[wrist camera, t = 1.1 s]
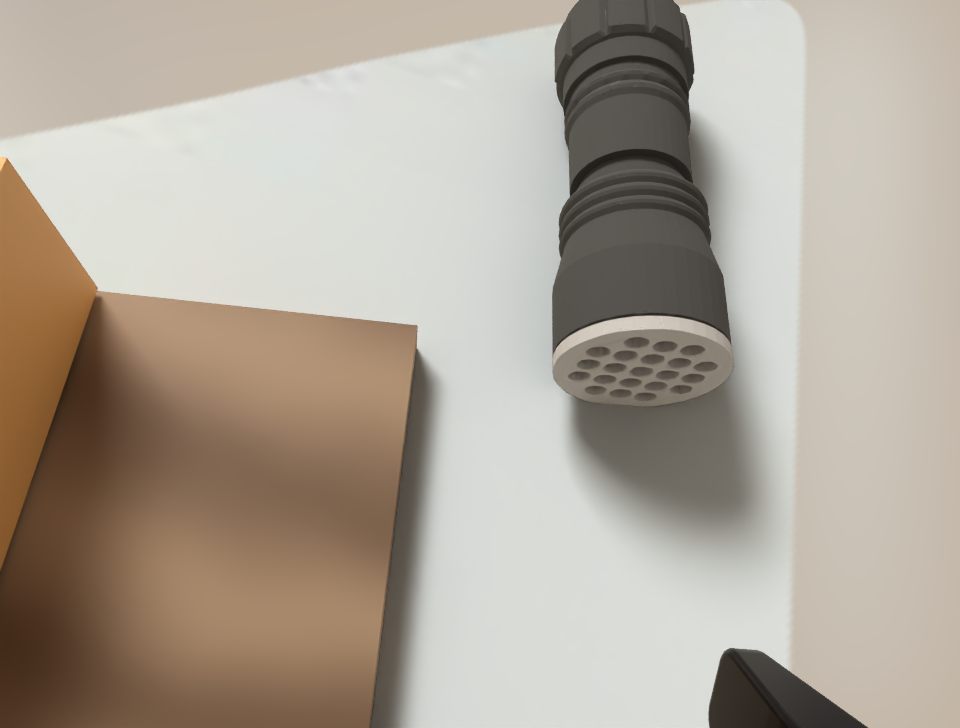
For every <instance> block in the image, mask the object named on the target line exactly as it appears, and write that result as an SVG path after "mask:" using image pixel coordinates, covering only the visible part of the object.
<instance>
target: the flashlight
mask: <svg viewBox="0 0 960 728" xmlns="http://www.w3.org/2000/svg"><path fill="white" fill-rule="evenodd" d="M693 74H694V62H693V54H692V45H691V37H690V29H689V25H688V22H687V19H686V16H685V14H683V13H681V12H680V8H679V6H678V5H677V4H676V3H674V1H673V0H579V1H578V2H577V3H576V5H575V6H574V7H573V8H572V10H571V11H570V13H569V14H568V16H567V19H566V21H565V22H564V23H563V25H562V27H561V29H560V32H559V34H558V37H557V40H556V45H555V82H556V83H557V96H558V99H559V101H560V103H561V105H562V107H563V109H564V116H565V120H564V122H565V140H566V144H567V147H568V149H569V177H570V198H569V199H568V200H567V202H566V203H565V205H564V206H563V208H562V211H561V214H560V217H559V228H560V230H559V240H560V244H559V252H560V256H561V262H560V265H559V269H558V272H557V276H556V279H555V283H554V286H553V293H552V321H553V360H552V368H553V377H554V380H555V381H556V383H557V384H558V385H559V386H560V387H561V388H562V389H563V390H564V391H566V392H567V393H569V394H570V395H572V396H574V397H577V398H579V399H582V400H585V401H588V402H593V403H604V404H618V405H632V406H644V407H650V406H661V405H666V404H672V403H677V402H682V401H686V400H689V399H692V398H696V397H698V396H701V395H703V394H706V393H708V392H709V391H711V390H713V389H715V388H716V387H718V386H719V385H721V384H722V383H723V382H724V381H725V380H726V379H728V378H729V376H730V374H731V373H732V371H733V367H734V362H733V353H732V346H731V338H730V330H729V321H728V313H727V304H726V296H725V288H724V279H723V275H722V273H721V270H720V268H719V266H718V264H717V261H716V259H715V257H714V255H713V253H712V250H711V248H710V242H711V232H710V229H709V225H710V223H709V217H708V207H707V203H706V200H705V198H704V196H703V195H702V193H701V192H700V191H699V189H698V188H697V187H695V186H694V185H693V181H692V171H691V162H690V152H689V143H688V134H689V131H690V123H691V119H690V113H689V102H688V99H689V90H690V88H691V86H692V84H693Z"/></svg>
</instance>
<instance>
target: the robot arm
mask: <svg viewBox="0 0 960 728" xmlns="http://www.w3.org/2000/svg"><path fill="white" fill-rule="evenodd" d="M709 727H710V728H868V727H866V726H865V725H864V724H862V723H861V722H859V721H858V720H857V719H855V718H854V717H852V716H851V715H849V714H848V713H847V712H845V711H844V710H843V709H841V708H840V707H838V706H837V705H836V704H834V703H833V702H831V701H830V700H829V699H827V698H826V697H825V696H823V695H822V694H820V693H819V692H817V691H816V690H815V689H813V688H812V687H811V686H809V685H808V684H806V683H805V682H804V681H802V680H801V679H799V678H798V677H797V676H795V675H794V674H792V673H791V672H790V671H788V670H787V669H785V668H784V667H783V666H781V665H780V664H779V663H777V662H776V661H774V660H773V659H772V658H770V657H769V656H767V655H766V654H765V653H763V652H761V651H758V650H747V649H735V648H729V649H727V650H726V651H724V653H723V655H722V656H721V659H720V663H719V667H718V671H717V675H716V679H715V683H714V688H713V692H712V696H711V700H710V705H709Z"/></svg>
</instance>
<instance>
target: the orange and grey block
mask: <svg viewBox="0 0 960 728" xmlns="http://www.w3.org/2000/svg"><path fill="white" fill-rule="evenodd" d="M97 289H98V288H97V286H96V285H95V283H94V282H93V280H92V279H91V278H90V276H89V275H88V273H87V272H86V270H85V269H84V268H83V266H82V265H81V263H80V262H79V260H78V259H77V258H76V256H75V255H74V253H73V252H72V250H71V249H70V248H69V246H68V245H67V243H66V242H65V240H64V239H63V238H62V236H61V235H60V233H59V232H58V230H57V229H56V227H55V226H54V225H53V223H52V222H51V220H50V219H49V217H48V216H47V215H46V213H45V212H44V210H43V209H42V207H41V206H40V205H39V203H38V202H37V200H36V199H35V197H34V196H33V195H32V193H31V192H30V190H29V189H28V187H27V186H26V185H25V183H24V182H23V180H22V179H21V177H20V176H19V174H18V173H17V172H16V170H15V169H14V167H13V166H12V164H11V163H10V162H9V160H8V159H7V158H5V157H0V570H1V567H2V565H3V562H4V559H5V556H6V553H7V550H8V547H9V544H10V541H11V538H12V536H13V533H14V530H15V527H16V524H17V521H18V518H19V515H20V512H21V509H22V507H23V504H24V501H25V498H26V495H27V492H28V489H29V486H30V483H31V480H32V478H33V475H34V472H35V469H36V466H37V463H38V460H39V457H40V454H41V451H42V449H43V446H44V443H45V440H46V437H47V434H48V431H49V428H50V425H51V422H52V420H53V417H54V414H55V411H56V408H57V405H58V402H59V399H60V396H61V393H62V391H63V388H64V385H65V382H66V379H67V376H68V373H69V370H70V367H71V364H72V362H73V359H74V356H75V353H76V350H77V347H78V344H79V341H80V338H81V335H82V333H83V330H84V327H85V324H86V321H87V318H88V315H89V312H90V309H91V306H92V304H93V301H94V298H95V295H96V292H97Z"/></svg>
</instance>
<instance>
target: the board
mask: <svg viewBox="0 0 960 728" xmlns="http://www.w3.org/2000/svg"><path fill="white" fill-rule="evenodd" d="M416 347H417V325H407V324H398V323H389V322H380V321H370V320H361V319H352V318H342V317H333V316H324V315H314V314H305V313H296V312H287V311H277V310H268V309H259V308H249V307H240V306H231V305H222V304H212V303H203V302H194V301H184V300H175V299H166V298H157V297H147V296H138V295H129V294H119V293H110V292H101V291H97V292H96V295H95V298H94V301H93V304H92V306H91V309H90V312H89V315H88V318H87V321H86V324H85V327H84V330H83V333H82V335H81V338H80V341H79V344H78V347H77V350H76V353H75V356H74V359H73V362H72V364H71V367H70V370H69V373H68V376H67V379H66V382H65V385H64V388H63V391H62V393H61V396H60V399H59V402H58V405H57V408H56V411H55V414H54V417H53V420H52V422H51V425H50V428H49V431H48V434H47V437H46V440H45V443H44V446H43V449H42V451H41V454H40V457H39V460H38V463H37V466H36V469H35V472H34V475H33V478H32V480H31V483H30V486H29V489H28V492H27V495H26V498H25V501H24V504H23V507H22V509H21V512H20V515H19V518H18V521H17V524H16V527H15V530H14V533H13V536H12V538H11V541H10V544H9V547H8V550H7V553H6V556H5V559H4V562H3V565H2V567H1V570H0V728H370V727H371V719H372V711H373V702H374V694H375V686H376V678H377V669H378V661H379V653H380V645H381V636H382V628H383V620H384V612H385V603H386V595H387V587H388V579H389V570H390V562H391V554H392V546H393V537H394V529H395V521H396V512H397V504H398V496H399V488H400V479H401V471H402V463H403V455H404V446H405V438H406V430H407V422H408V413H409V405H410V397H411V389H412V380H413V372H414V364H415V356H416Z"/></svg>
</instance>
